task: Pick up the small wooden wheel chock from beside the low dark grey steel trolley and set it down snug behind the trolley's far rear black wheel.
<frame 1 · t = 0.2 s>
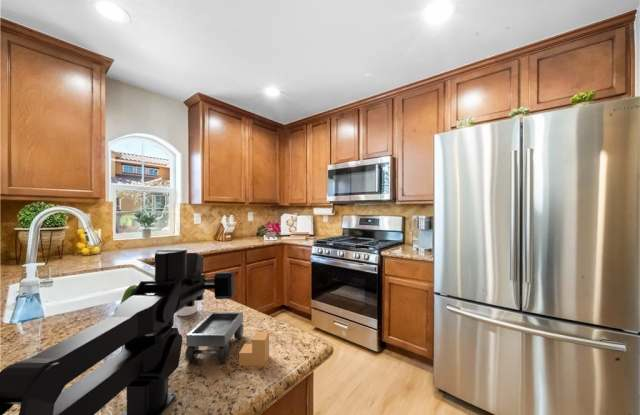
hand: (210, 278, 72), 17 cm above the countertop, tool horizontal, fingers open, 9 cm apart
avocado: (135, 323, 81), on the countertop
trolley: (217, 348, 66), on the countertop
can: (186, 313, 89), on the countertop
chock: (254, 360, 61), on the countertop
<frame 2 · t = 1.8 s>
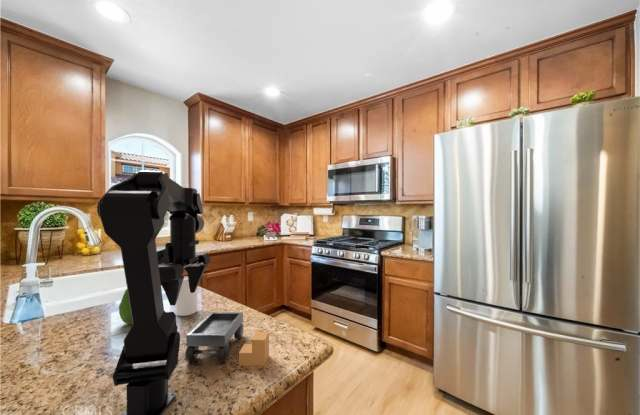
hand: (183, 298, 66), 13 cm above the countertop, tool pointing down, fingers open, 9 cm apart
nothing on the countertop moved.
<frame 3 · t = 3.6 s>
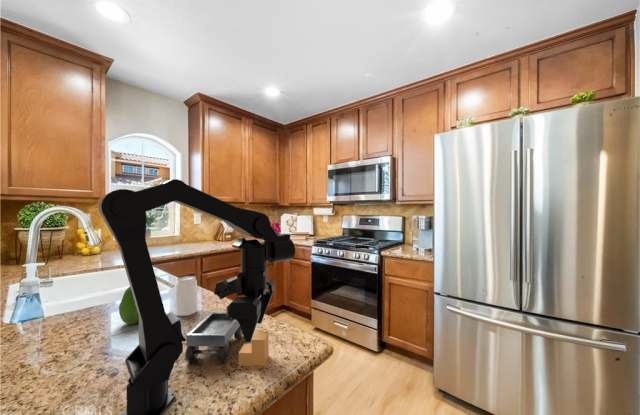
hand: (253, 331, 61), 7 cm above the countertop, tool pointing down, fingers open, 9 cm apart
nothing on the countertop moved.
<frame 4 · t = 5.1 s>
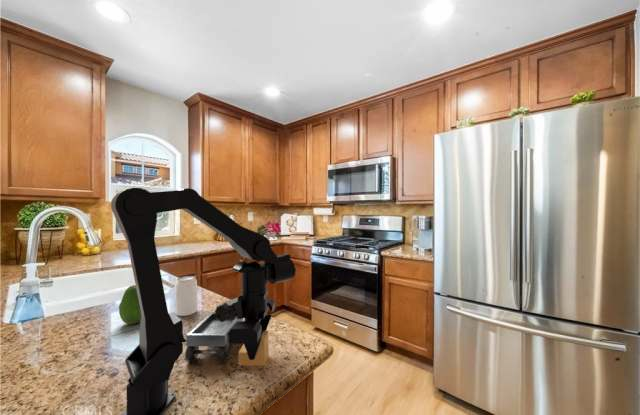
hand: (254, 354, 61), 2 cm above the countertop, tool pointing down, fingers closed on chock, 4 cm apart
chock: (253, 360, 61), on the countertop, touching gripper
everything else where it was.
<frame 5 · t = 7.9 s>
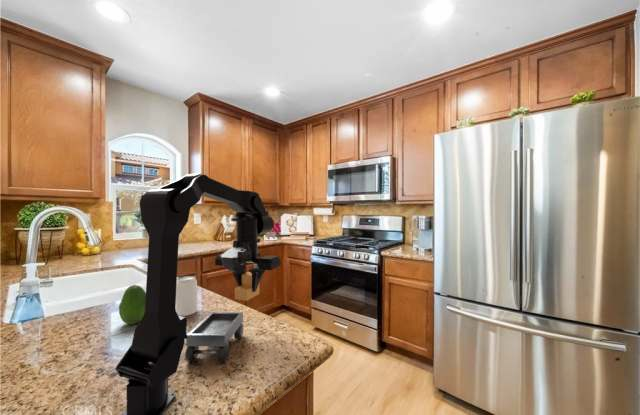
hand: (247, 290, 74), 12 cm above the countertop, tool pointing down, fingers closed on chock, 4 cm apart
chock: (247, 296, 74), point 11 cm above the countertop, touching gripper
everything else where it was.
when the fingers open (2 cm above the countertop, at t = 10.8 s): chock drops 1 cm, on the countertop.
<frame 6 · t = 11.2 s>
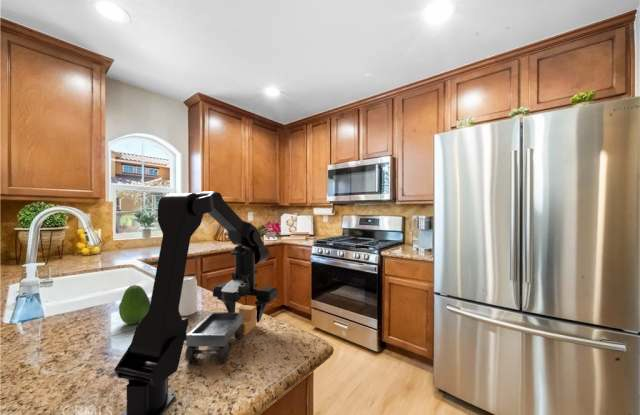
hand: (245, 320, 77), 2 cm above the countertop, tool pointing down, fingers open, 8 cm apart
chock: (245, 329, 77), on the countertop
everything else where it was.
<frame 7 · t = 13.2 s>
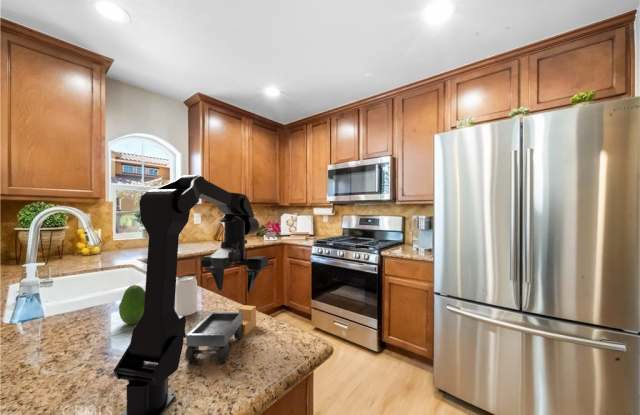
hand: (234, 291, 75), 12 cm above the countertop, tool pointing down, fingers open, 9 cm apart
nothing on the countertop moved.
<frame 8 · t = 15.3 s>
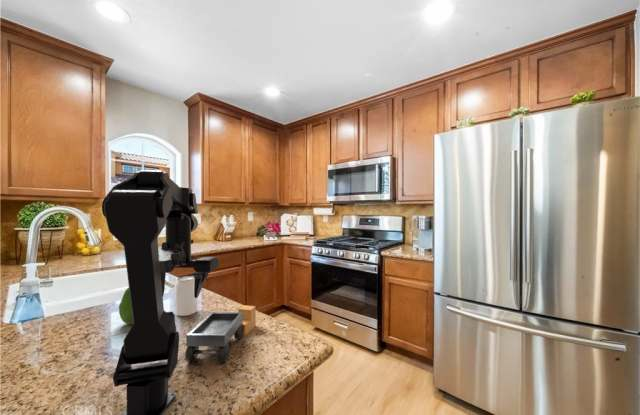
hand: (178, 297, 67), 13 cm above the countertop, tool pointing down, fingers open, 9 cm apart
nothing on the countertop moved.
at the end: chock 1.3 cm from the target spot on the countertop beside the trolley, on the countertop; chock tilted 0°; the gripper is holding nothing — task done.
